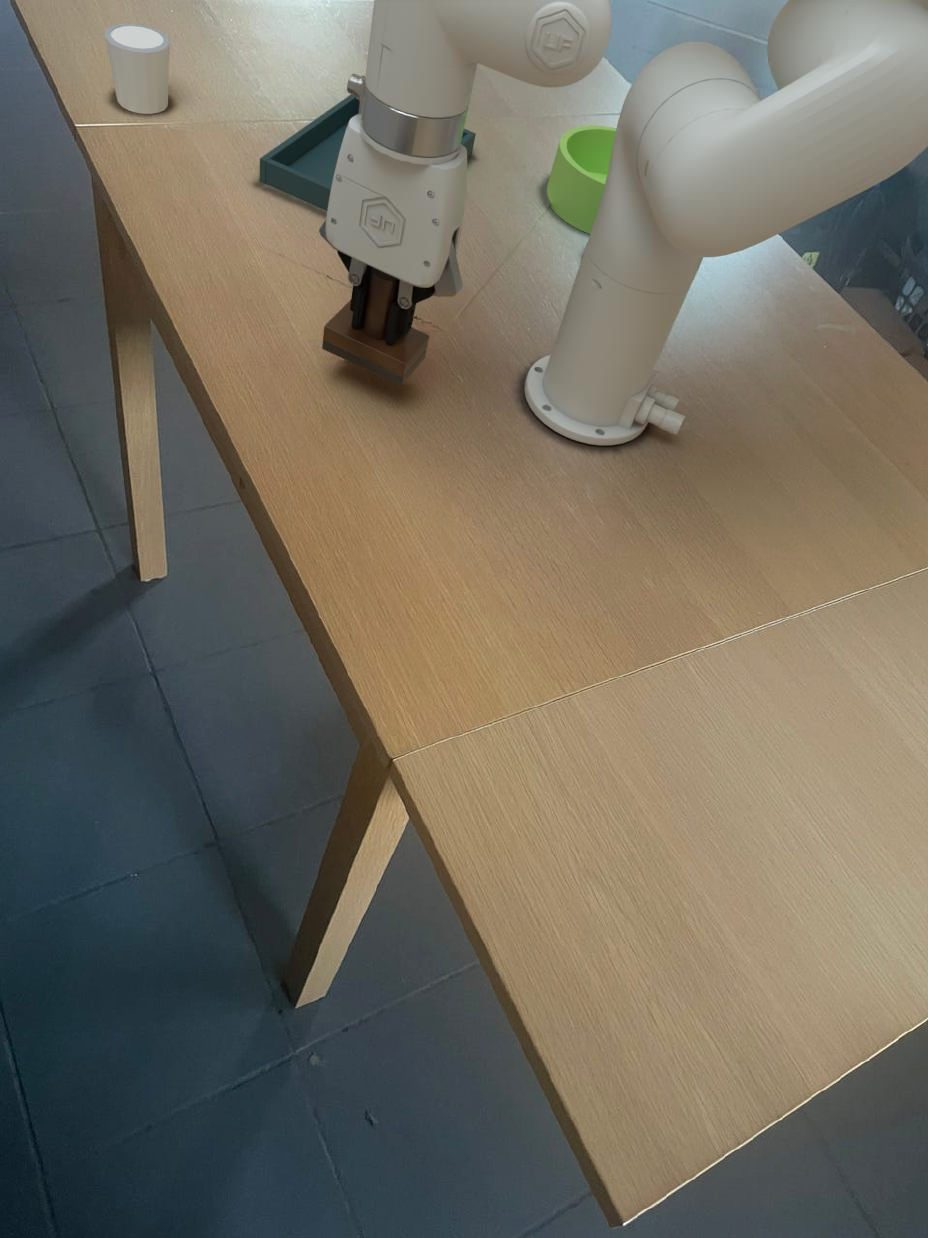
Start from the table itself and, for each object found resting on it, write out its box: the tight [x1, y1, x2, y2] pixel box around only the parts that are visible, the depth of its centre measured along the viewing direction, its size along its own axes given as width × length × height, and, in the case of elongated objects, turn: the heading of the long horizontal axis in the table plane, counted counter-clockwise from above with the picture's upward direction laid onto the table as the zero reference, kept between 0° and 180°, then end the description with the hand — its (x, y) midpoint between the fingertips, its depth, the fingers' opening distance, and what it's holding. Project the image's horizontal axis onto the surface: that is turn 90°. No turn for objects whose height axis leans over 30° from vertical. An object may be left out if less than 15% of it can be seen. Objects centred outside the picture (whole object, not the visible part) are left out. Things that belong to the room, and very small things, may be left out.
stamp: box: [321, 267, 430, 387], centre depth 80 cm, size 8×5×8 cm, turn 66°
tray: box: [259, 94, 477, 212], centre depth 107 cm, size 16×24×3 cm, turn 156°
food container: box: [546, 124, 617, 235], centre depth 105 cm, size 25×15×13 cm, turn 7°
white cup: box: [104, 22, 171, 115], centre depth 104 cm, size 7×7×7 cm
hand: (379, 326), depth 81 cm, fingers closed on stamp, 2 cm apart
